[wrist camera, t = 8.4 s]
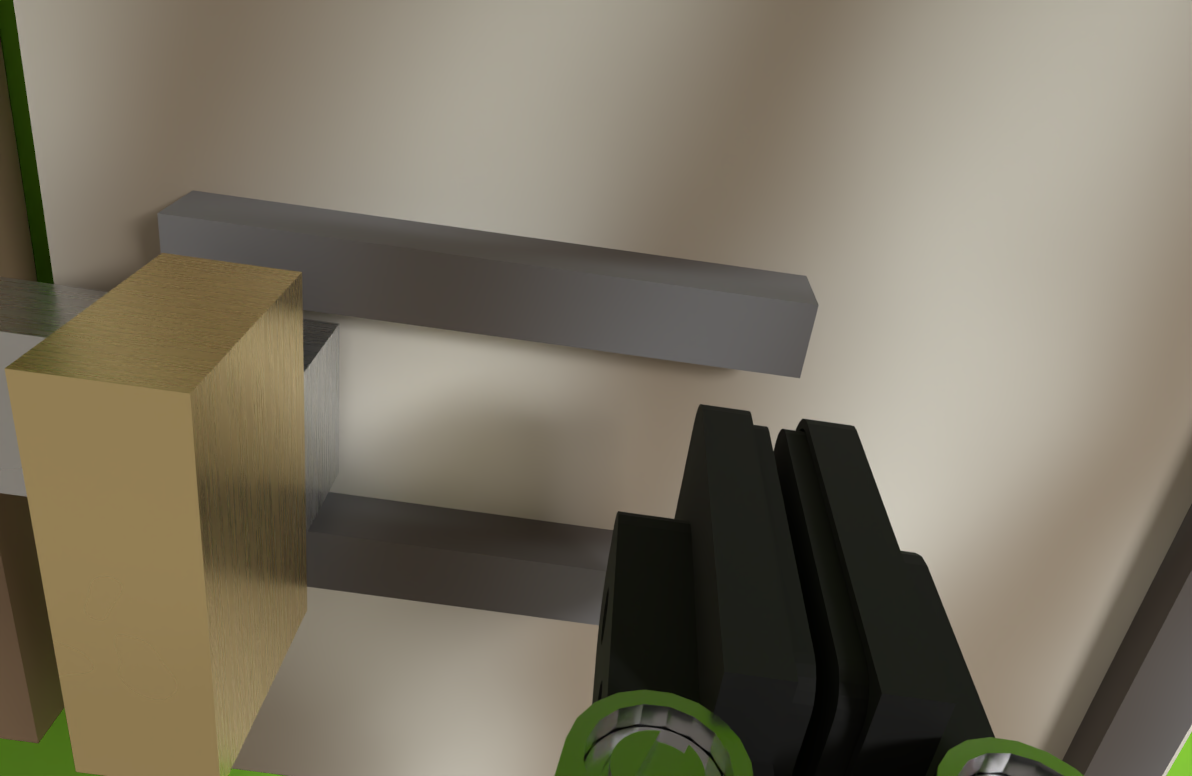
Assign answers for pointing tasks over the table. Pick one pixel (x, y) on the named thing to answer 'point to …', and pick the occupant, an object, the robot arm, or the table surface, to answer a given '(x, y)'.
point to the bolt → (168, 496)
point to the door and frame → (660, 323)
